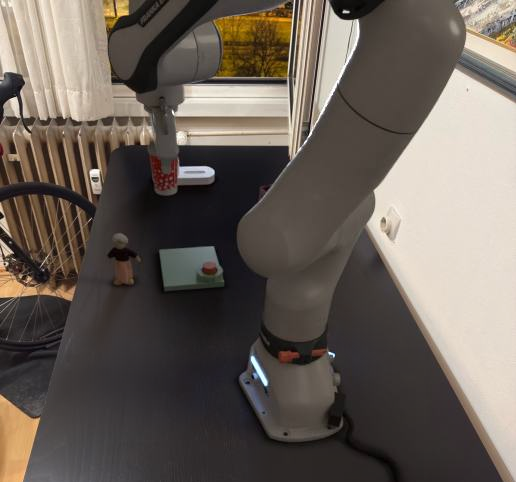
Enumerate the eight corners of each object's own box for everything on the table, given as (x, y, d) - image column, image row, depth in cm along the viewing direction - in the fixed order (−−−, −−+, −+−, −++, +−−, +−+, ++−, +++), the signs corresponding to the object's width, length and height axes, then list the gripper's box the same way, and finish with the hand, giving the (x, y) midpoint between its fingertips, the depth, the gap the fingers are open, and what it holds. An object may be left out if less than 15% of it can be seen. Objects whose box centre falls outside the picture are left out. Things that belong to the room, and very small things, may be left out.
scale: (224, 286, 114) (224, 276, 111) (164, 291, 111) (163, 280, 109) (213, 250, 125) (213, 240, 123) (159, 254, 122) (158, 244, 120)
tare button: (217, 274, 112) (217, 268, 111) (203, 275, 112) (203, 269, 111) (215, 267, 115) (215, 260, 114) (201, 267, 114) (201, 261, 113)
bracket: (153, 185, 150) (151, 164, 146) (151, 174, 157) (150, 153, 152) (216, 184, 154) (216, 163, 150) (212, 172, 160) (212, 152, 156)
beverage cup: (165, 181, 103) (160, 112, 93) (186, 190, 101) (184, 120, 91) (144, 190, 99) (138, 120, 89) (167, 200, 97) (162, 128, 87)
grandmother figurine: (109, 288, 110) (101, 239, 102) (109, 278, 113) (100, 230, 104) (143, 284, 112) (138, 236, 103) (142, 275, 115) (136, 228, 106)
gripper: (184, 108, 80) (186, 186, 90) (171, 74, 94) (175, 145, 104) (145, 108, 79) (152, 188, 88) (139, 73, 93) (145, 145, 103)
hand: (164, 164), depth 96 cm, fingers closed on beverage cup, 6 cm apart
